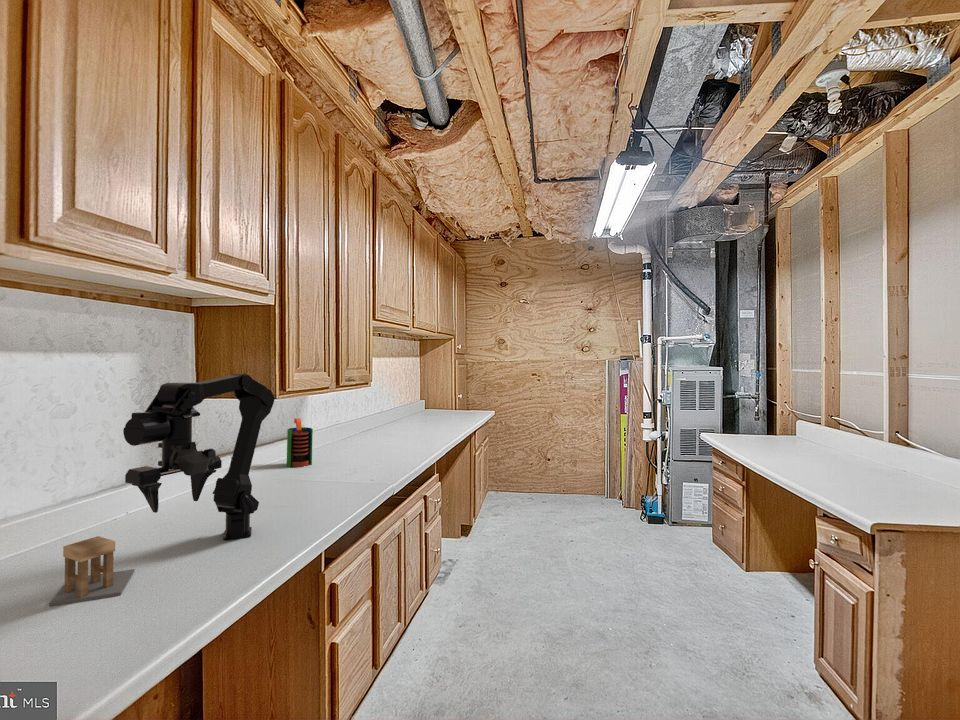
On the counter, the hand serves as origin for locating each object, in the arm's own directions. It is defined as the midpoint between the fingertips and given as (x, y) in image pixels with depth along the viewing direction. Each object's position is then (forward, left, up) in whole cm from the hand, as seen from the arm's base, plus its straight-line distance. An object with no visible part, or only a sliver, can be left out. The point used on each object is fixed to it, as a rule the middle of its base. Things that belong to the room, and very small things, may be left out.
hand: (176, 506), depth 109 cm
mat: (+7, -13, -13) cm, 20 cm away
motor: (-92, +32, -13) cm, 98 cm away
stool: (+8, -13, -12) cm, 20 cm away
